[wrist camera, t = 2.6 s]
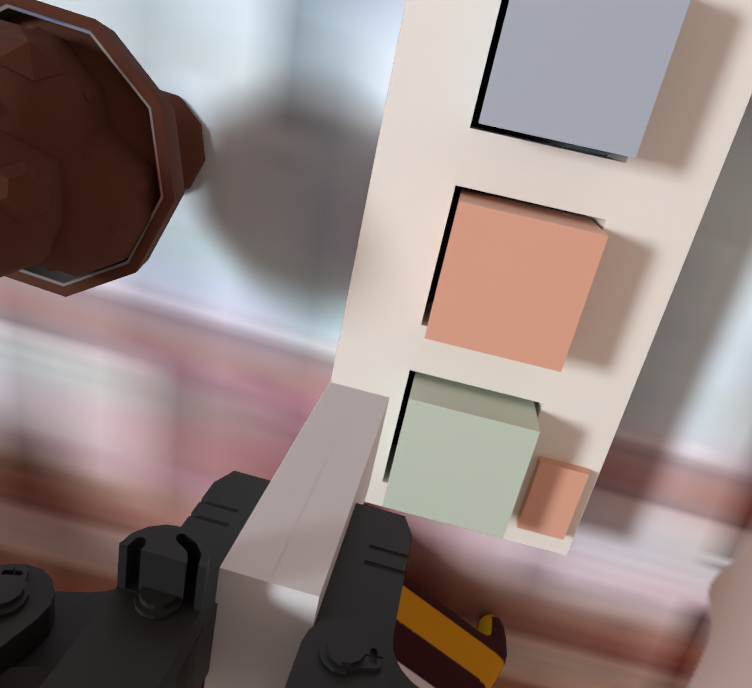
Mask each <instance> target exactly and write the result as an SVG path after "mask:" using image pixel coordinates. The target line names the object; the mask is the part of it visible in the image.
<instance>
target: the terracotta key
mask: <svg viewBox="0 0 752 688" xmlns="http://www.w3.org/2000/svg"><path fill="white" fill-rule="evenodd" d="M607 239H608V235H607V234H606V233H605V232H604V231H603V230H602V229H601V228H600V227H599V226H597V225H596V224H595V223H594V222H593V221H592V220H591V219H590V218H588V217H584V216H579V215H575V214H571V213H566V212H562V211H558V210H553V209H549V208H545V207H540V206H536V205H532V204H527V203H523V202H519V201H514V200H510V199H506V198H501V197H497V196H493V195H488V194H484V193H480V192H475V191H471V190H467V189H461V193H460V197H459V201H458V205H457V209H456V213H455V217H454V220H453V224H452V228H451V232H450V236H449V240H448V244H447V248H446V252H445V256H444V260H443V264H442V268H441V272H440V276H439V280H438V284H437V288H436V292H435V296H434V300H433V304H432V308H431V312H430V317H429V321H428V325H427V330H426V334H425V339H429V340H433V341H437V342H441V343H445V344H449V345H453V346H457V347H461V348H466V349H470V350H474V351H478V352H482V353H486V354H490V355H494V356H498V357H502V358H506V359H510V360H514V361H518V362H522V363H526V364H530V365H534V366H538V367H542V368H546V369H551V370H555V371H559V372H561V371H562V368H563V365H564V362H565V359H566V356H567V354H568V351H569V348H570V345H571V342H572V339H573V336H574V334H575V331H576V328H577V325H578V322H579V319H580V316H581V313H582V311H583V308H584V305H585V302H586V299H587V296H588V293H589V291H590V288H591V285H592V282H593V279H594V276H595V273H596V270H597V268H598V265H599V262H600V259H601V256H602V253H603V250H604V247H605V245H606V242H607Z"/></svg>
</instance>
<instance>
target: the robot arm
mask: <svg viewBox="0 0 752 688" xmlns="http://www.w3.org/2000/svg"><path fill="white" fill-rule="evenodd" d="M389 398H390V397H386V396H382V395H378V394H374V393H370V392H366V391H363V390H359V389H355V388H351V387H347V386H343V385H340V384H336V383H332V382H329V383H328V385H327V387H326V388H325V390H324V392H323V393H322V395H321V397H320V398H319V400H318V402H317V404H316V405H315V407H314V409H313V410H312V412H311V414H310V415H309V417H308V419H307V420H306V422H305V424H304V426H303V427H302V429H301V431H300V432H299V434H298V436H297V437H296V439H295V441H294V442H293V444H292V446H291V448H290V449H289V451H288V453H287V454H286V456H285V458H284V459H283V461H282V463H281V464H280V466H279V468H278V470H277V471H276V473H275V475H274V476H273V478H272V480H271V481H269V480H266V479H262V478H258V477H255V476H251V475H248V474H244V473H240V472H237V471H233V472H231V473H230V474H228V475H226V476H224V477H223V478H221V479H219V480H217V481H216V482H214V483H213V484H212V486H211V487H210V488H209V490H208V491H207V492H206V494H205V495H204V497H203V498H202V500H201V502H199V503H198V505H197V506H196V507H195V509H194V510H193V511H192V513H191V516H189V517H188V518H187V520H186V521H185V522H184V524H183V525H182V526H181V527H179V526H172V525H160V526H151V527H147V528H144V529H142V530H139V531H136V532H134V533H132V534H130V535H129V536H128V537H127V538H125V539H124V540H123V541H122V542H120V543H119V561H118V581H117V588H116V589H114V590H109V591H105V592H91V593H87V592H55V590H54V586H53V581H52V578H50V577H49V576H48V575H47V574H46V573H45V572H44V571H43V570H42V569H39V568H36V567H33V566H30V565H27V564H6V565H1V566H0V688H201V686H202V684H203V682H204V680H205V683H204V688H419V687H418V686H417V685H415V684H414V683H413V682H412V681H411V680H410V679H409V678H408V677H407V676H406V675H405V673H404V672H403V671H402V669H401V668H400V666H399V664H398V662H397V660H396V657H395V653H394V649H393V635H394V629H395V624H396V619H397V613H398V608H399V603H400V597H401V592H402V587H403V581H404V575H405V571H406V565H407V560H408V555H409V549H410V544H411V539H412V535H411V532H410V529H409V526H408V524H407V521H406V518H405V516H402V515H398V514H395V513H391V512H388V511H384V510H380V509H377V508H373V507H369V506H366V505H363V504H364V501H365V498H366V495H367V492H368V488H369V484H370V480H371V475H372V471H373V467H374V462H375V458H376V454H377V450H378V445H379V441H380V437H381V432H382V428H383V424H384V420H385V415H386V411H387V407H388V402H389Z"/></svg>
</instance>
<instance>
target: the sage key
mask: <svg viewBox="0 0 752 688" xmlns="http://www.w3.org/2000/svg"><path fill="white" fill-rule="evenodd" d="M539 434H540V429H539V424H538V419H537V414H536V409H535V404H534V401H531V400H527V399H523V398H519V397H515V396H511V395H508V394H504V393H500V392H496V391H492V390H488V389H484V388H480V387H476V386H472V385H468V384H464V383H460V382H456V381H452V380H448V379H444V378H440V377H436V376H432V375H428V374H424V373H420V372H416V371H415V375H414V379H413V383H412V387H411V391H410V395H409V399H408V403H407V407H406V411H405V415H404V419H403V423H402V427H401V431H400V435H399V439H398V443H397V447H396V451H395V455H394V459H393V463H392V467H391V471H390V476H389V480H388V484H387V488H386V492H385V497H384V501H383V505H382V506H383V507H386V508H390V509H394V510H398V511H401V512H405V513H409V514H413V515H416V516H420V517H424V518H428V519H431V520H435V521H439V522H443V523H446V524H450V525H454V526H458V527H461V528H465V529H469V530H473V531H477V532H480V533H484V534H488V535H492V536H495V537H499V538H503V537H504V534H505V531H506V529H507V526H508V523H509V520H510V517H511V514H512V511H513V508H514V506H515V503H516V500H517V497H518V494H519V491H520V488H521V485H522V483H523V480H524V477H525V474H526V471H527V468H528V465H529V463H530V460H531V457H532V454H533V451H534V448H535V445H536V442H537V440H538V437H539Z"/></svg>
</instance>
